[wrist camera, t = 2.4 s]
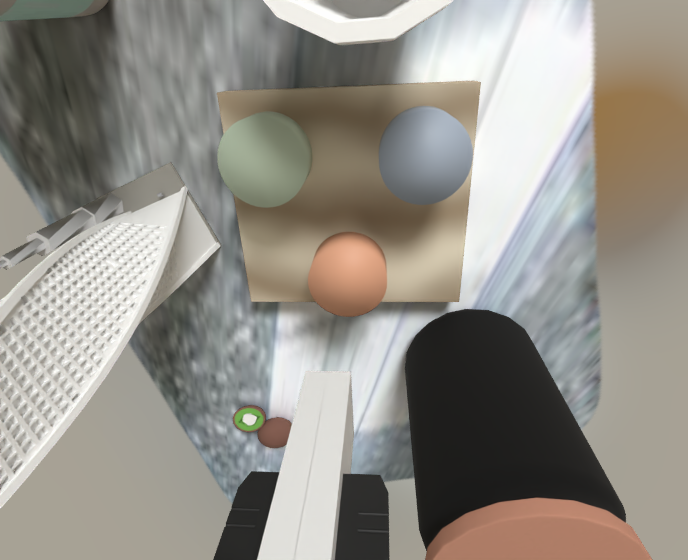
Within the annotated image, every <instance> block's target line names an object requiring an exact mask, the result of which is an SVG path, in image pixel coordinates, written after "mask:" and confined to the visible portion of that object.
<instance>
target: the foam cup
mask: <svg viewBox="0 0 688 560" xmlns="http://www.w3.org/2000/svg"><path fill="white" fill-rule="evenodd" d="M263 1H264V2H265V3H266V4H267V5H268V7H269V8H270V9H271V10H272V11H273V13H274V14H275V15H276V16H277V17H278V18H280V19H283V20H285V21H287V22H289V23H291V24H294V25H296V26H298V27H300V28H302V29H304V30H307V31H309V32H311V33H313V34H315V35H318V36H320V37H322V38H324V39H326V40H328V41H331V42H333V43H335V44H337V45H351V44H363V43H376V42H389V41H394V40H395V39H397V38H398V37H400V36H402V35H403V34H405V33H406V32H408V31H409V30H411V29H413V28H414V27H416V26H417V25H419V24H420V23H422V22H424V21H425V20H427V19H428V18H430V17H432V16H433V15H435V14H436V13H438V12H439V11H441V10H443V9H444V8H445V7H446V6H448V5H449V4H450V3H451V2H452V1H453V0H263Z"/></svg>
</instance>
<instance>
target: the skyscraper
mask: <svg viewBox="0 0 688 560" xmlns="http://www.w3.org/2000/svg"><path fill="white" fill-rule="evenodd" d="M71 213H72V214H71V215H69V216H67V217H65V218H63V219H61V220H59V221H57V222H55V223H53V224H51V225H49V226H47V227H45V228H43V229H41V230H39V231H37V232H35V233H33V234H31V235H29V236H27V237H26V238H27V242H28V243H26V244H24V245H23V246H20V247H18V248H16V249H14V250H13V251H11V252H9V253H7V254H5V255H3V256H1V257H0V268H5V269H6V270H7V269H9V268H11V267H13V266H14V265H16V264H18V263H19V262H21V261H23V260H25V259H27V258H29V257H30V256H32V255H34V254H36V253H37V254H39V255H41V256H43V255H45V254H47V253H50V252H52V251H53V250H54V249H56V248H57V247H59V246H61V245H62V246H61V247H59V248H58V249H57V250H55V251H54V252H52V253H51V254H50V255H49V256H48V257H46V258H45V259H44V260H43V261H42V262H41V263H39V264H38V265H37V266H36V267H35V268H34V269H33V270H32V271H31V272H30V273H28V275H27V276H25V277H24V278H23V279H22V280H21V281H20V282H19V283H18V284H17V285H16V286H15V287H14V288H13V289H12V290H11V292H10V293H9V294H8V295H7V296H5V297H4V298H2V299H1V300H0V508H1V507H2V506H3V505H4V504H5V503H6V501H7V500H8V499H9V498H10V497H11V496H12V495H13V494H14V492H15V491H16V490H17V489H18V488H19V487H20V485H21V484H22V483H23V482H24V481H25V480H26V478H27V477H28V476H29V475H30V474H31V472H32V471H33V470H34V469H35V468H36V467H37V465H38V464H39V463H40V462H41V461H42V459H43V458H44V457H45V456H46V455H47V453H48V452H49V451H50V450H51V449H52V447H53V446H54V445H55V444H56V442H57V441H58V440H59V439H60V437H61V436H62V435H63V434H64V432H65V431H66V430H67V428H68V427H69V426H70V425H71V424H72V422H73V421H74V420H75V418H76V417H77V416H78V415H79V413H80V412H81V411H82V409H83V408H84V407H85V405H86V404H87V403H88V401H89V400H90V398H91V397H92V396H93V394H94V393H95V392H96V390H97V389H98V387H99V386H100V385H101V383H102V382H103V380H104V379H105V378H106V376H107V375H108V373H109V372H110V370H111V368H112V367H113V365H114V364H115V362H116V361H117V359H118V358H119V356H120V355H121V353H122V351H123V350H124V348H125V346H126V345H127V343H128V341H129V340H130V338H131V336H132V334H133V333H134V331H135V329H136V328H137V326H138V324H139V323H140V322H142V321H143V320H144V319H145V318H146V317H147V316H148V315H149V314H150V313H152V312H153V311H154V310H155V309H156V308H157V307H158V306H159V305H160V304H161V303H162V302H163V301H165V300H166V299H167V298H168V297H169V296H170V295H171V294H172V293H173V292H174V291H175V290H176V289H177V288H178V287H179V286H180V285H181V284H182V283H183V282H184V281H185V280H186V279H187V278H188V277H190V276H191V275H192V274H193V273H194V272H195V271H196V270H197V269H198V268H199V267H200V266H201V265H202V264H203V263H204V262H205V261H206V260H207V259H208V258H209V257H210V256H211V255H212V254H213V253H214V252H215V251H216V250H217V249H218V248H219V247H220V246H221V244H220V242H219V240H218V239H217V237H216V235H215V234H214V232H213V230H212V229H211V227H210V226H209V224H208V222H207V221H206V219H205V217H204V216H203V214H202V212H201V211H200V209H199V207H198V206H197V204H196V202H195V201H194V199H193V197H192V196H191V194H190V192H189V191H188V189H187V187H186V186H185V184H184V183H183V181H182V179H181V178H180V176H179V174H178V173H177V171H176V169H175V168H174V166H173V164H172V163H171V162H170V163H168V164H166V165H164V166H162V167H160V168H158V169H156V170H154V171H152V172H150V173H148V174H146V175H144V176H142V177H140V178H138V179H136V180H134V181H132V182H130V183H128V184H125V185H123V186H121V187H119V188H117V189H115V190H113V191H111V192H109V193H107V194H105V195H103V196H101V197H99V198H97V199H96V200H95V201H93V202H91V203H89V204H87V205H85V206H83V207H81V208H79V209H77V210H75V211H73V212H71ZM64 243H65V244H64ZM13 470H15V471H14V473H13Z"/></svg>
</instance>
